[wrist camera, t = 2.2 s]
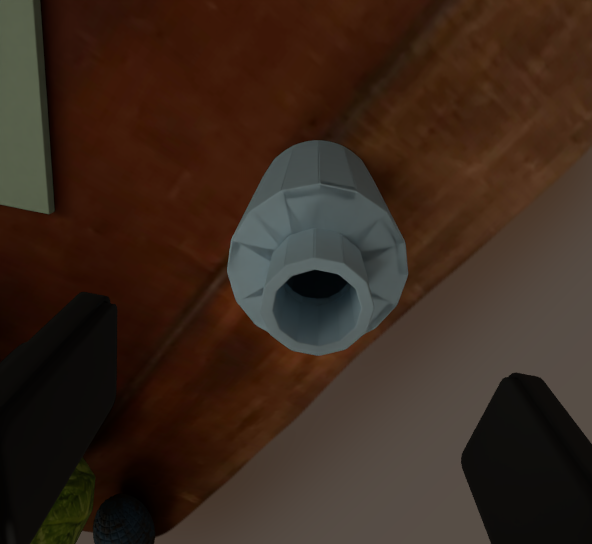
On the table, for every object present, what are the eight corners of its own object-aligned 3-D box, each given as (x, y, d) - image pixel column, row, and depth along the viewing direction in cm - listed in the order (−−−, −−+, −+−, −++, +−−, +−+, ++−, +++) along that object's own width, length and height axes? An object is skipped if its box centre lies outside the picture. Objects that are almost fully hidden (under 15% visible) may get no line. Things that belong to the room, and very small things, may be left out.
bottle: (271, 128, 22) (225, 186, 11) (388, 153, 22) (456, 234, 11) (253, 239, 24) (202, 371, 14) (356, 260, 25) (387, 405, 14)
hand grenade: (138, 469, 35) (162, 534, 40) (80, 492, 33) (113, 556, 38) (144, 517, 31) (170, 582, 36) (80, 545, 30) (117, 609, 35)
